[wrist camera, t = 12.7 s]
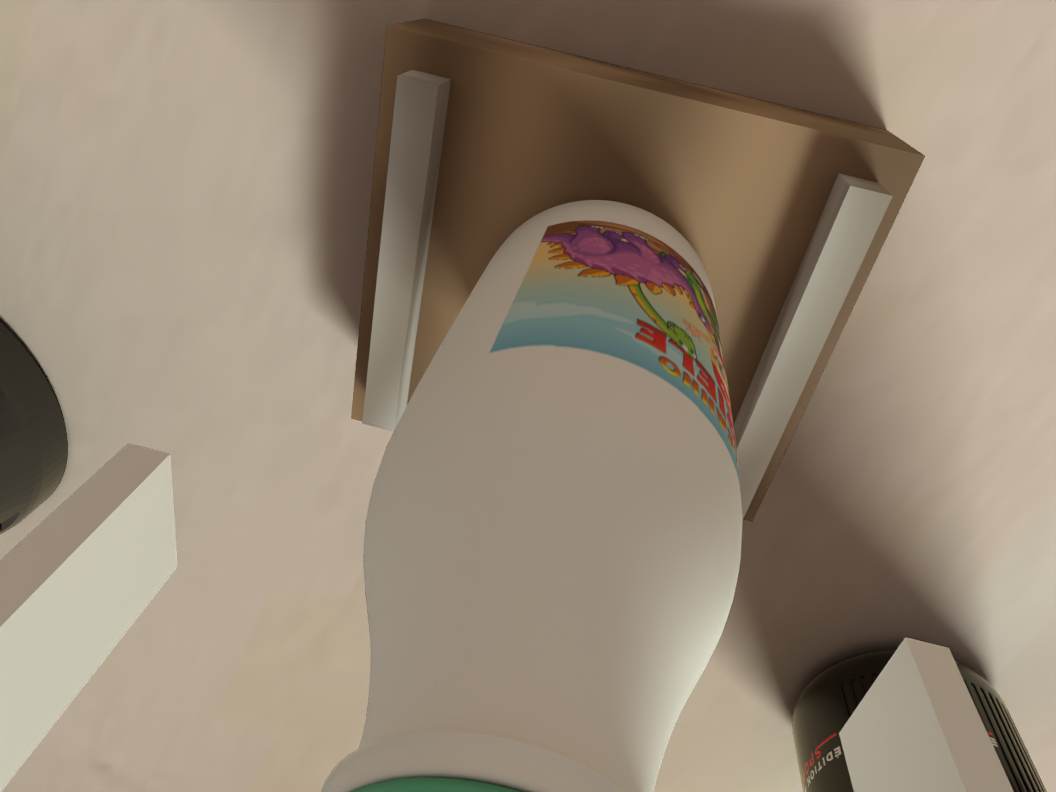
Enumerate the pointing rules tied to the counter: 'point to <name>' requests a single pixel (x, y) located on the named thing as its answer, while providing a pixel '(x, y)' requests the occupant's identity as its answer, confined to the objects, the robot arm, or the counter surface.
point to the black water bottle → (843, 691)
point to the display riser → (627, 177)
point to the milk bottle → (553, 521)
